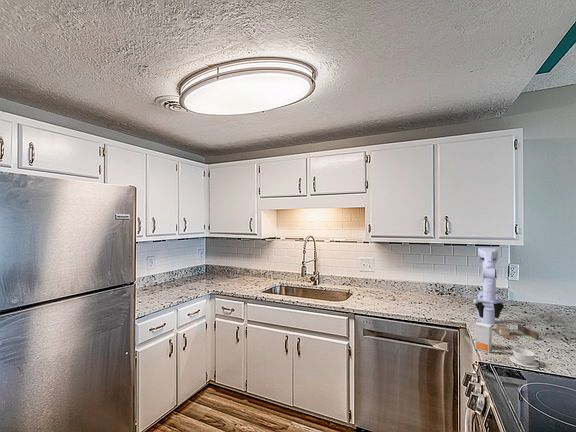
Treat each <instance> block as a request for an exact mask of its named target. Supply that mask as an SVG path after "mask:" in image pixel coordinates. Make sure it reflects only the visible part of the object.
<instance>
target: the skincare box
mask: <svg viewBox="0 0 576 432" xmlns="http://www.w3.org/2000/svg"><path fill="white" fill-rule="evenodd" d="M492 329H493V324H486V323H482V322H481V321H480V322H479V321H476V323H475V324H474V350H477V351H481V352H485V353H487V354H490V352H491V351H492V341H493V340H492V338H493V337H492V336H493V335H492V334H493V333H492V332H493V330H492Z"/></svg>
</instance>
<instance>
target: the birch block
mask: <svg viewBox="0 0 576 432" xmlns="http://www.w3.org/2000/svg"><path fill="white" fill-rule="evenodd" d="M495 325H496V326H495V329H496V332H497V333H496V332H495V333H496V334H498V333H499V334H500V335H499V334H498V335H499V336H501V335H509V332H510V327H509V326H507V325H506V324H499V323H498V324H496V323H495Z"/></svg>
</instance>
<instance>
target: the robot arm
mask: <svg viewBox="0 0 576 432" xmlns="http://www.w3.org/2000/svg"><path fill="white" fill-rule="evenodd" d="M477 257H478V262H479V263H481V264H482V269H481V278H482V291H480V292H479V293H478V294H477V298H473V303H474V305H475V308H476V320H475V321H476V322H479V321H480V323H486V324H490V325H496V319H499V318H500V316H501V312H502V310H503V309H504V308H505V304H506V302H505V301H506V300H503V299H498V298H499V297H498V295H497V280H498V270H497V268H496V264H497V263H498V259H499V249H498V247H496V248H495V247H493V248H492V247H478V248H477Z"/></svg>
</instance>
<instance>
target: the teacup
mask: <svg viewBox="0 0 576 432" xmlns="http://www.w3.org/2000/svg"><path fill="white" fill-rule="evenodd" d="M508 359H509V360H510V361H511V362H512V363H513V364H517V365H519V366H522V367H525V368H526V367H527V368H539V366H540V365H539V363H538V362H537V361H535V359H536V354H535V353H534V351H532V350H528V349H525V348H518V347H517V348H515V347H514V348H513V356H510V357H509V358H508Z"/></svg>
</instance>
